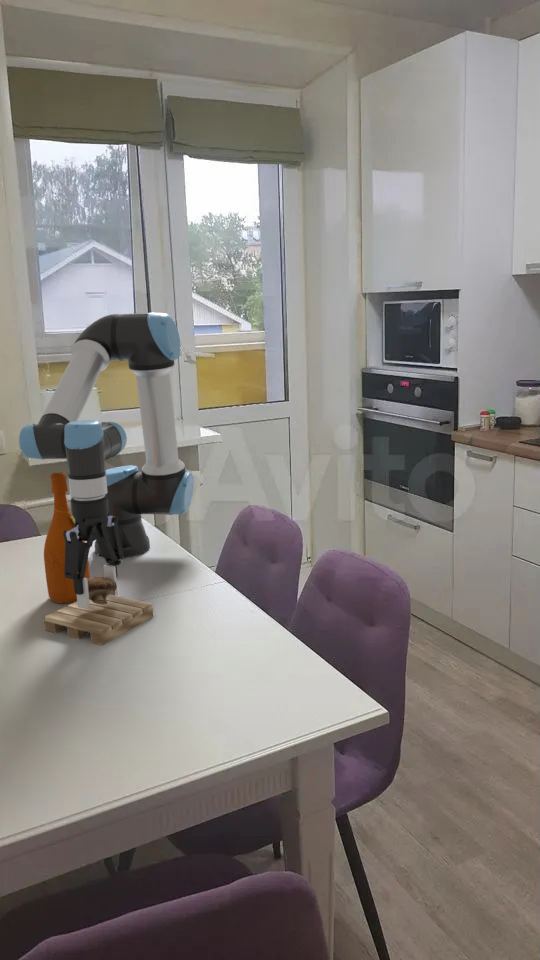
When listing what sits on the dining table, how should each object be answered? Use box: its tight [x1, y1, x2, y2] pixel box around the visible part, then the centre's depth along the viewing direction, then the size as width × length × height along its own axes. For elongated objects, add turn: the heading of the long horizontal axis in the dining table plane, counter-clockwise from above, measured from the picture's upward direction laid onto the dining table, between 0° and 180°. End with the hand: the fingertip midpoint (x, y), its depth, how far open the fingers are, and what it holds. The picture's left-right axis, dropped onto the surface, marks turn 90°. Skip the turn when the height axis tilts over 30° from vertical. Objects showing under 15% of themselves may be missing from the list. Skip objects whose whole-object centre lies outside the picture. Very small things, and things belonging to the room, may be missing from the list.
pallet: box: [44, 595, 154, 646], centre depth 159 cm, size 16×16×3 cm
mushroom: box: [87, 576, 118, 604], centre depth 157 cm, size 8×8×6 cm
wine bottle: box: [43, 471, 91, 604], centre depth 171 cm, size 10×10×30 cm
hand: (98, 600), depth 158 cm, fingers closed on mushroom, 8 cm apart
